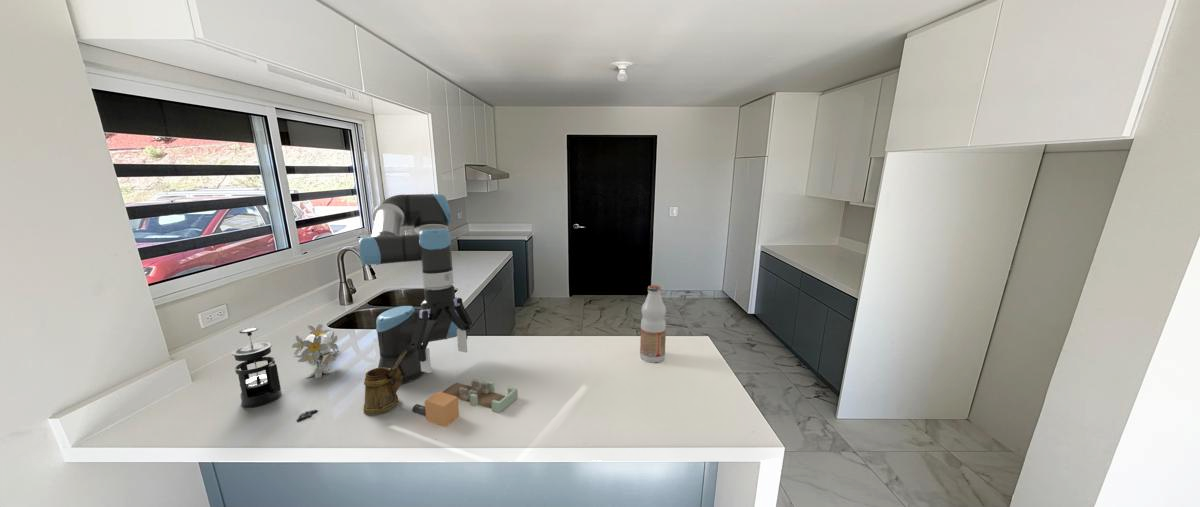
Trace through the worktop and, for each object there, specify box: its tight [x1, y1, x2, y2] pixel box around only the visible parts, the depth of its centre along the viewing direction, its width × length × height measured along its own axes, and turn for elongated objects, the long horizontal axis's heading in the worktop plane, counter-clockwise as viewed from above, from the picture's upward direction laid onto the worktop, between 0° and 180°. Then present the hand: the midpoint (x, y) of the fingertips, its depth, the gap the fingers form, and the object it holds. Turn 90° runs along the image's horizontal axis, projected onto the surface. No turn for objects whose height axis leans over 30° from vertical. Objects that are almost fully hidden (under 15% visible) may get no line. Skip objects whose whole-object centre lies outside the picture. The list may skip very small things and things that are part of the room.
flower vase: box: [291, 324, 340, 379], centre depth 138 cm, size 13×18×25 cm
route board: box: [442, 378, 516, 413], centre depth 116 cm, size 24×7×4 cm, turn 67°
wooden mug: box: [363, 349, 407, 416], centre depth 111 cm, size 9×14×18 cm, turn 94°
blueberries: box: [295, 409, 319, 423], centre depth 108 cm, size 7×8×2 cm
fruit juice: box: [639, 284, 667, 364], centre depth 141 cm, size 9×9×28 cm
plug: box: [411, 391, 460, 428], centre depth 107 cm, size 14×5×7 cm, turn 67°
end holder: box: [469, 380, 519, 414], centre depth 114 cm, size 11×9×3 cm
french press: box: [231, 327, 283, 409], centre depth 114 cm, size 12×9×23 cm
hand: (445, 360), depth 105 cm, fingers open, 13 cm apart
